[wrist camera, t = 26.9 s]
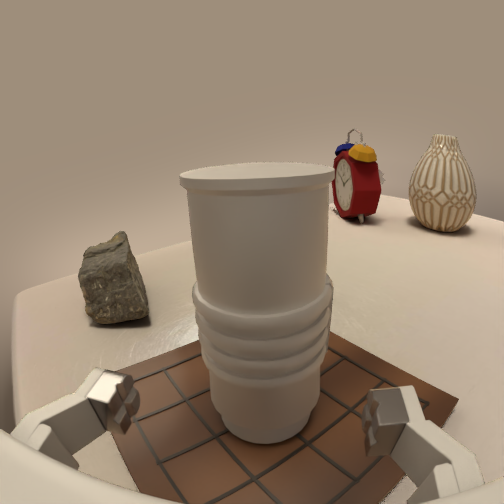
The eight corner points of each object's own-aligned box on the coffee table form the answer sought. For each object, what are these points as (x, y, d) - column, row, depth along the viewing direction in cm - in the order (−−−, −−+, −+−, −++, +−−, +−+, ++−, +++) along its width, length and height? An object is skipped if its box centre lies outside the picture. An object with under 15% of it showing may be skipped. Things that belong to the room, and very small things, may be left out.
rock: (60, 258, 38) (116, 224, 42) (82, 296, 41) (135, 262, 46) (76, 302, 25) (161, 248, 30) (111, 353, 28) (186, 301, 33)
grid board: (453, 409, 17) (459, 397, 17) (228, 608, 6) (225, 608, 6) (282, 313, 32) (282, 302, 32) (95, 389, 21) (90, 378, 21)
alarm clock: (330, 210, 74) (330, 127, 67) (362, 209, 74) (363, 129, 67) (352, 227, 60) (354, 126, 53) (389, 225, 60) (392, 129, 53)
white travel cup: (327, 444, 15) (361, 177, 10) (209, 450, 15) (158, 185, 10) (310, 371, 22) (318, 161, 17) (217, 376, 22) (192, 166, 17)
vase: (449, 242, 49) (457, 135, 42) (392, 221, 63) (395, 130, 56) (482, 231, 55) (490, 142, 48) (432, 214, 69) (436, 135, 62)
